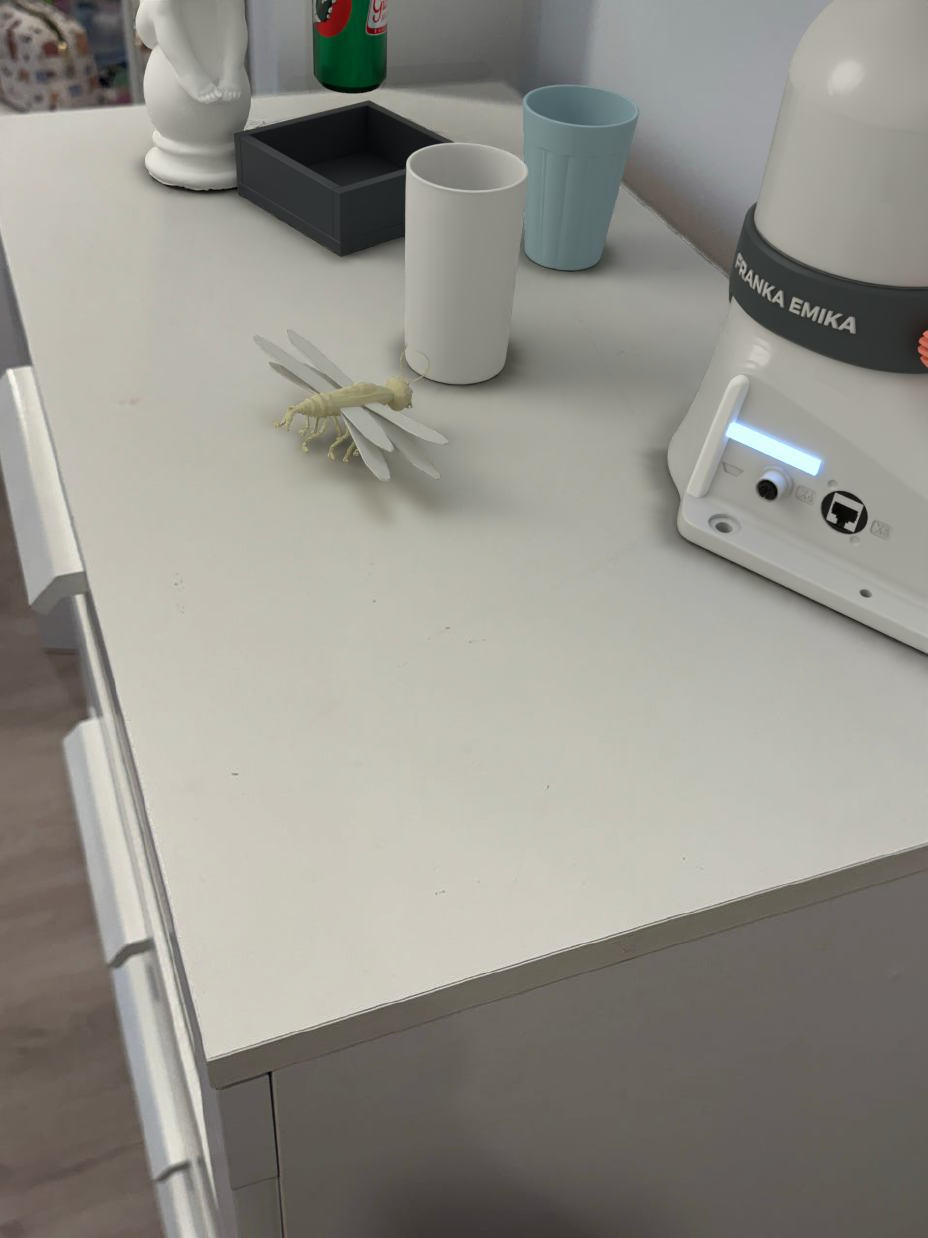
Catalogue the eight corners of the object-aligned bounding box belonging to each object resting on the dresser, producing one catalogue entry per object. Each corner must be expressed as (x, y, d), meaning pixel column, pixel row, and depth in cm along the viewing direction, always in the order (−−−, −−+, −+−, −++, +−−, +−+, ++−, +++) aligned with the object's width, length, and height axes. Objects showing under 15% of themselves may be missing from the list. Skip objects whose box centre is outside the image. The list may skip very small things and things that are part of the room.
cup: (577, 222, 88) (596, 77, 81) (637, 266, 84) (663, 116, 76) (490, 239, 85) (502, 91, 78) (547, 286, 81) (565, 132, 73)
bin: (473, 212, 88) (478, 152, 85) (340, 256, 82) (339, 193, 79) (368, 156, 95) (369, 99, 92) (237, 193, 88) (233, 132, 85)
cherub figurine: (246, 204, 87) (223, -145, 72) (79, 191, 87) (21, -161, 72) (273, 142, 96) (257, -180, 81) (121, 130, 96) (77, -194, 81)
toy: (211, 412, 67) (204, 333, 63) (341, 366, 71) (340, 290, 68) (364, 546, 59) (364, 465, 56) (498, 486, 63) (506, 407, 60)
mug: (515, 388, 71) (536, 193, 62) (403, 388, 70) (409, 190, 62) (497, 306, 78) (513, 122, 70) (395, 305, 77) (400, 119, 69)
